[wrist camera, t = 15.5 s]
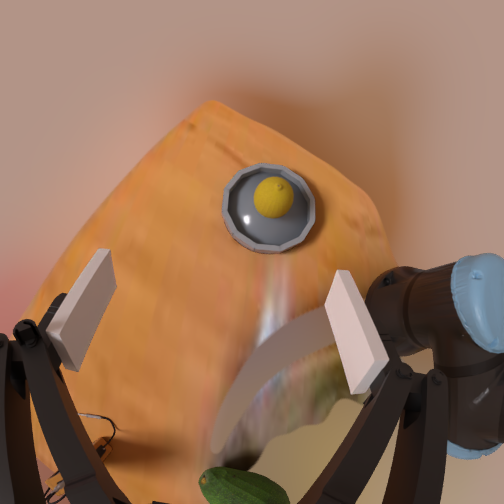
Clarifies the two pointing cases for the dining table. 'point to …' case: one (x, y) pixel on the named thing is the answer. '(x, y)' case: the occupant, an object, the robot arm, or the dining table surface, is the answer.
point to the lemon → (273, 197)
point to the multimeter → (56, 479)
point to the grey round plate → (256, 225)
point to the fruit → (240, 487)
